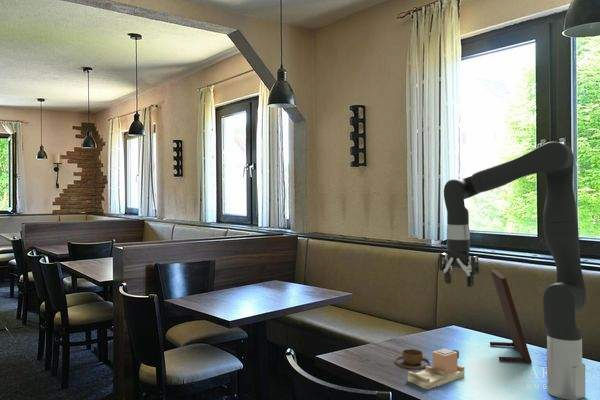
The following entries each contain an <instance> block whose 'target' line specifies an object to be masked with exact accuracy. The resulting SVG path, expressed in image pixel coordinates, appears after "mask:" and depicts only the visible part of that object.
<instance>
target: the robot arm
mask: <svg viewBox="0 0 600 400" xmlns="http://www.w3.org/2000/svg"><path fill="white" fill-rule="evenodd" d="M574 160H575V156H574V153H573V150H572V149H571V148H570V147H569V146H568V145H567V144H565V143H562V142H560V141H549V142H546V143H544V144H542V145H540V146H538V147H537V148H534V149H533V150H531V151H528V152H526V153H525V154H523V155H521V156H518V157H516V158H514V159H511V160H508V161H505V162H503V163H500V164H497V165H493V166H491V167H488V168H485V169H482V170H481V169H480V170H479V171H477V172H474V173H473V174H471V176H468V177H465V178H461V179H457V178H456V179H455V178H454V179H450V180H448V181H447V182H446V183H445V184H444V188H443V198H444V199H443V201H444V203H445V208H446V212H447V214H446V220H447V221H446V223H447V224H446V225H447V226H446V251H447V253H446V252H443V253H439V260H438V261H439V263H438V269H439V271H440V272H441V271H442V272H443V273H444V277H443V278H444V282H445V284H446V285H450V284H451V283H452V270H453V269H454V268H458V269H462V270H463V271H464V273H466V275H467V276H466V287H467V288H472V287H473V286H474V284H475V283H474V281H475V280H474V279H475V277H474V276H475V275H479V274H480V264H479V263H480V262H479V256H478V255H476V256H471V255H470V252H471V238H470V235H471V231H470V225H469V224H470V220H469V218H470V217H469V215H470V213H469V210H468V208H466V206H465V205H466V204H465V200H466V199H469V198H471V197H474V196H476V195H479V194H481V193H485V192H489V191H492V190H495V189H498V188H500V187H504V186H506V185H508V184H510V183H512V182H514V181H517V180H519V179H522V178H524V177H527V176H531V175H535V174H541V173H544V178H545V183H546V195H545V199H544V201H545V202H544V206H543V213H542V215H543V216H542V219H543V220H542V221H543V222H542V223H543V224H542V225H543V235H544V241H545V243H546V246H547V248H548V250H549V252H550V254H551V256H552V258H553V260H554V264H555V268H556V269H555V270H556V282H555V283H552V284H549V285H548V286H547V287H546V288H545V289H544V292H543V298H542V309H543V311H542V312H543V323H544V326H545V328H546V375H547V376H546V378H547V379H546V386H547V387H546V389H547V390H546V391H547V393H548V394H549V395H550V396H553V397H556V398H558V399H563V400H581V399H583V398H584V397H586V364H585V363H583V330H582V328H581V327H580V326H578V325H577V323H576V313H577V312H579V311H581V310H582V309H583V308H584V307H585V306H586V303H587V291H586V285H585V281H584V275H583V270H582V263H581V251H580V234H579V232H580V231H579V221H578V213H577V212H578V211H577V205H576V200H575V199H576V198H575V193H574V162H575V161H574ZM447 260H448V261H447Z"/></svg>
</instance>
